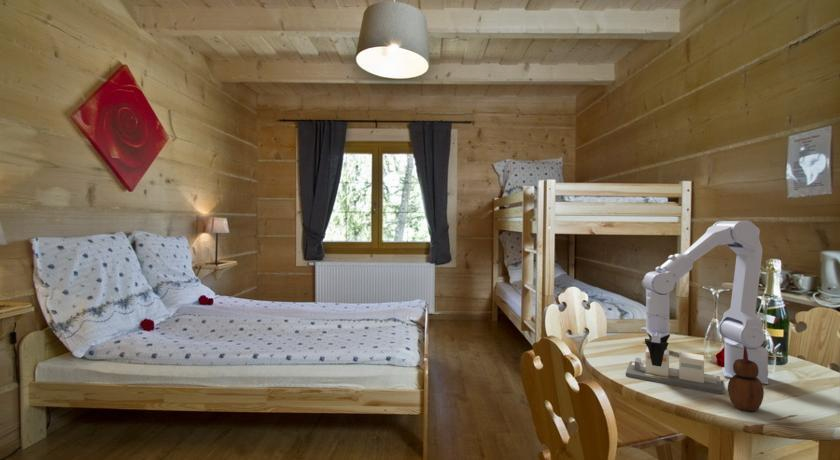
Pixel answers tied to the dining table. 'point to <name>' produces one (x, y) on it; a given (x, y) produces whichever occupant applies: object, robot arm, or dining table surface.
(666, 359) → the block
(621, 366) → the dining table surface
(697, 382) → the rail
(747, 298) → the robot arm
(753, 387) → the wooden figurine
